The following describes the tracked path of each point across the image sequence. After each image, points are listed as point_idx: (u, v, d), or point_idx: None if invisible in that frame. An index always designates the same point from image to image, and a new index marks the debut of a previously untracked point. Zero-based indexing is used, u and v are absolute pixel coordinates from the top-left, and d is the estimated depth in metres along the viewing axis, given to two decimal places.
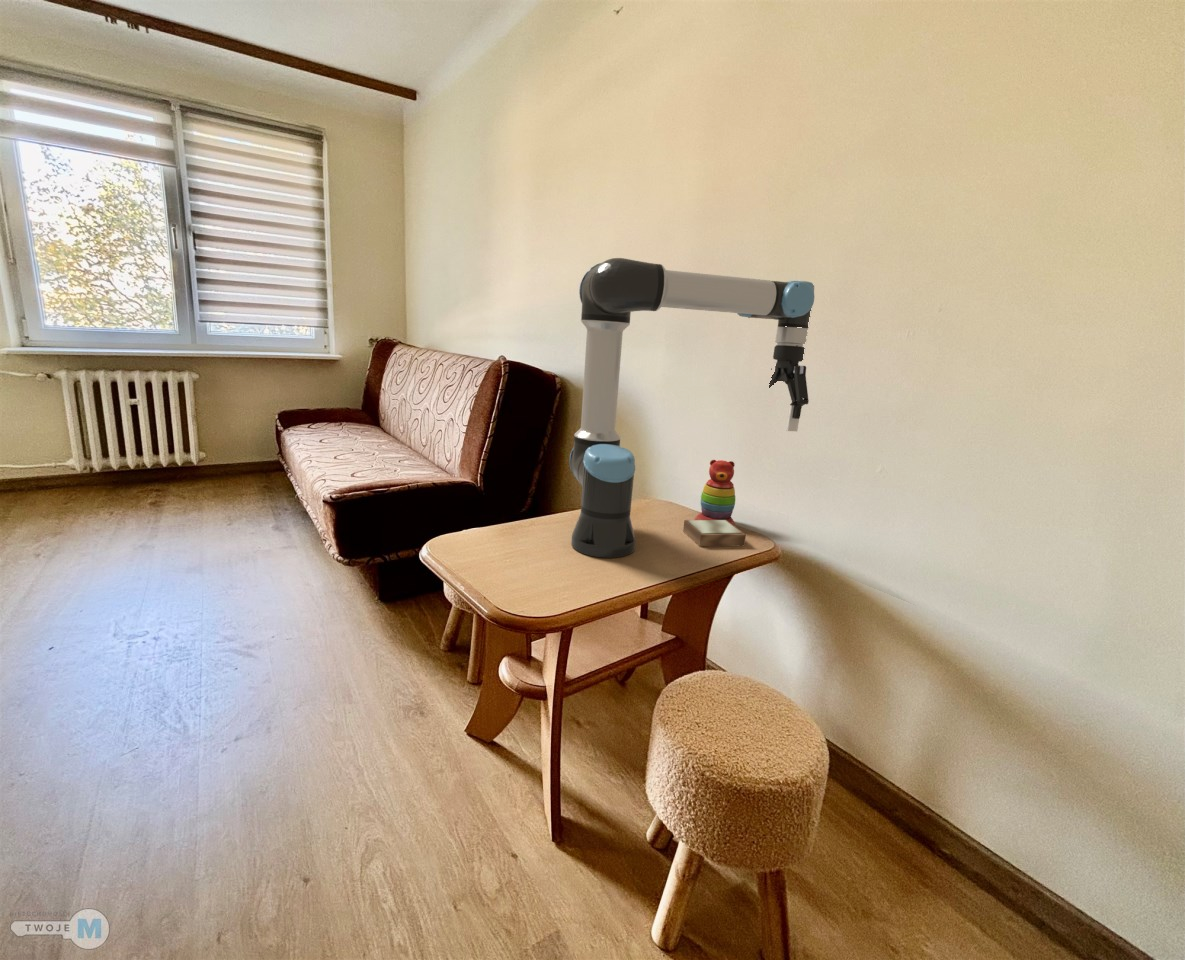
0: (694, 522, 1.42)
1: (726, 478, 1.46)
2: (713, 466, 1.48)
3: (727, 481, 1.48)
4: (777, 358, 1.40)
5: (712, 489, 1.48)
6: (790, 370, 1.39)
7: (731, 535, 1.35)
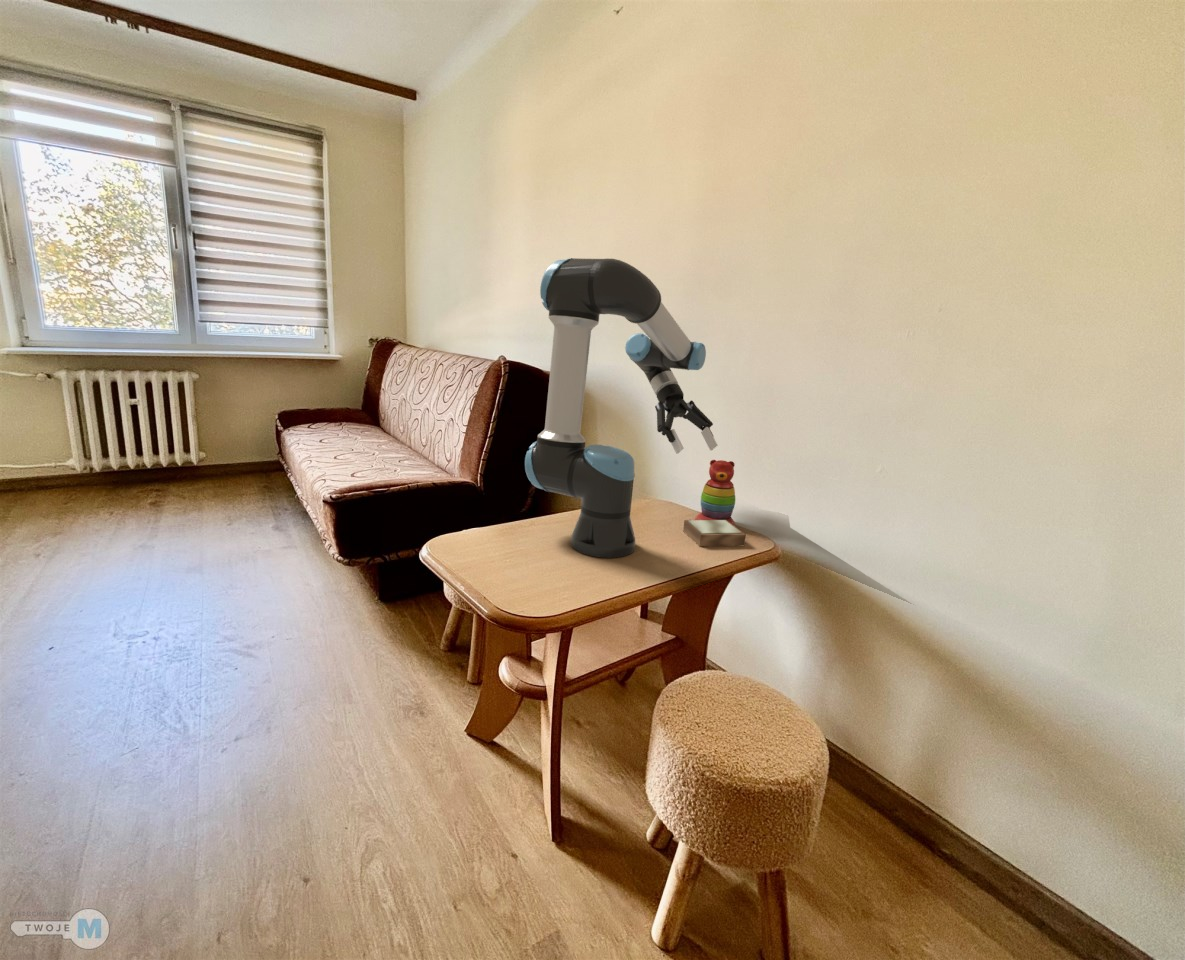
0: (694, 522, 1.42)
1: (725, 478, 1.46)
2: (713, 466, 1.48)
3: (727, 481, 1.48)
4: (680, 392, 1.61)
5: (712, 489, 1.48)
6: (686, 404, 1.63)
7: (731, 535, 1.35)
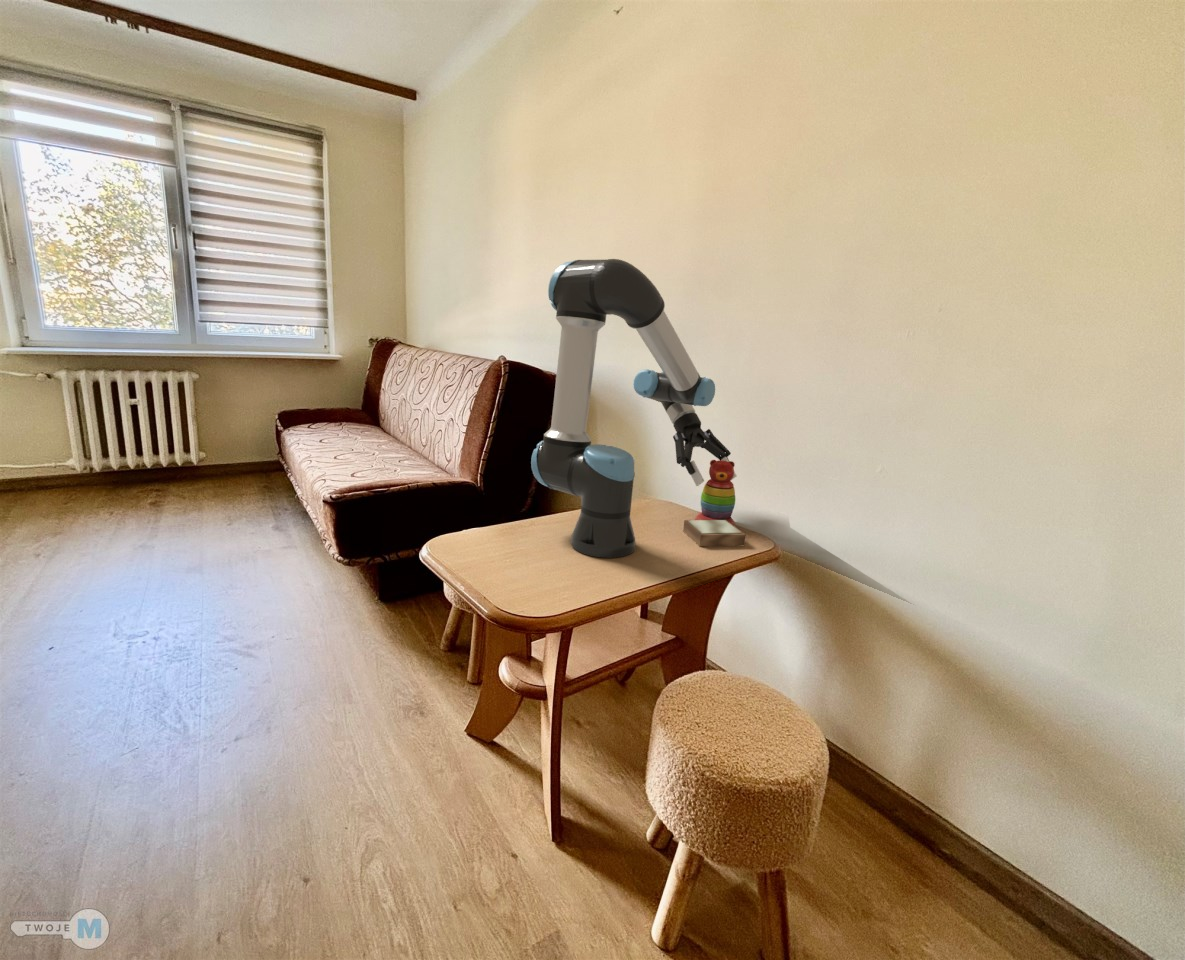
0: (694, 522, 1.42)
1: (726, 478, 1.46)
2: (713, 466, 1.48)
3: (727, 481, 1.48)
4: (698, 421, 1.57)
5: (712, 489, 1.48)
6: (704, 433, 1.59)
7: (731, 535, 1.35)
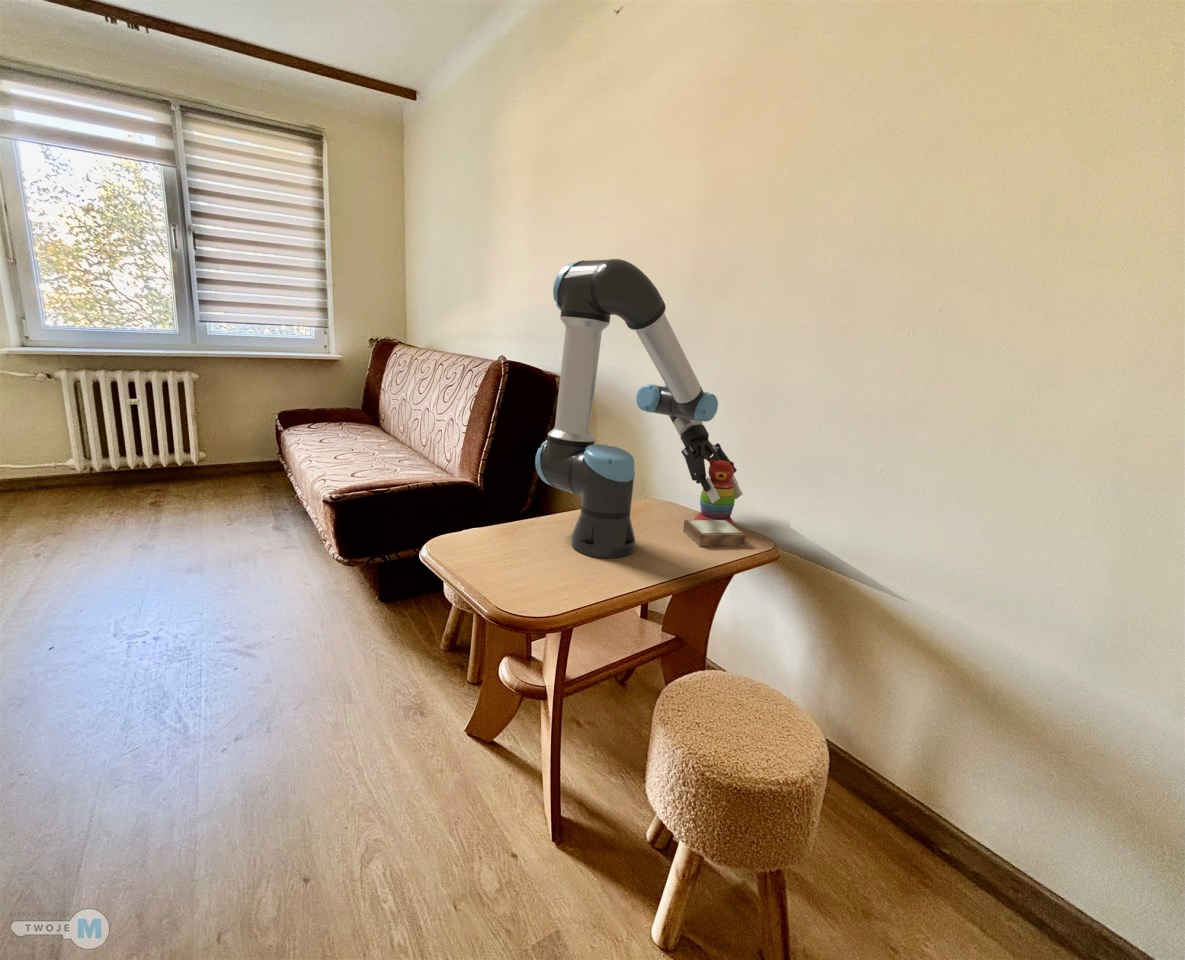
0: (694, 522, 1.42)
1: (725, 478, 1.46)
2: (712, 466, 1.48)
3: (726, 481, 1.47)
4: (706, 433, 1.54)
5: None
6: (712, 445, 1.56)
7: (731, 535, 1.35)
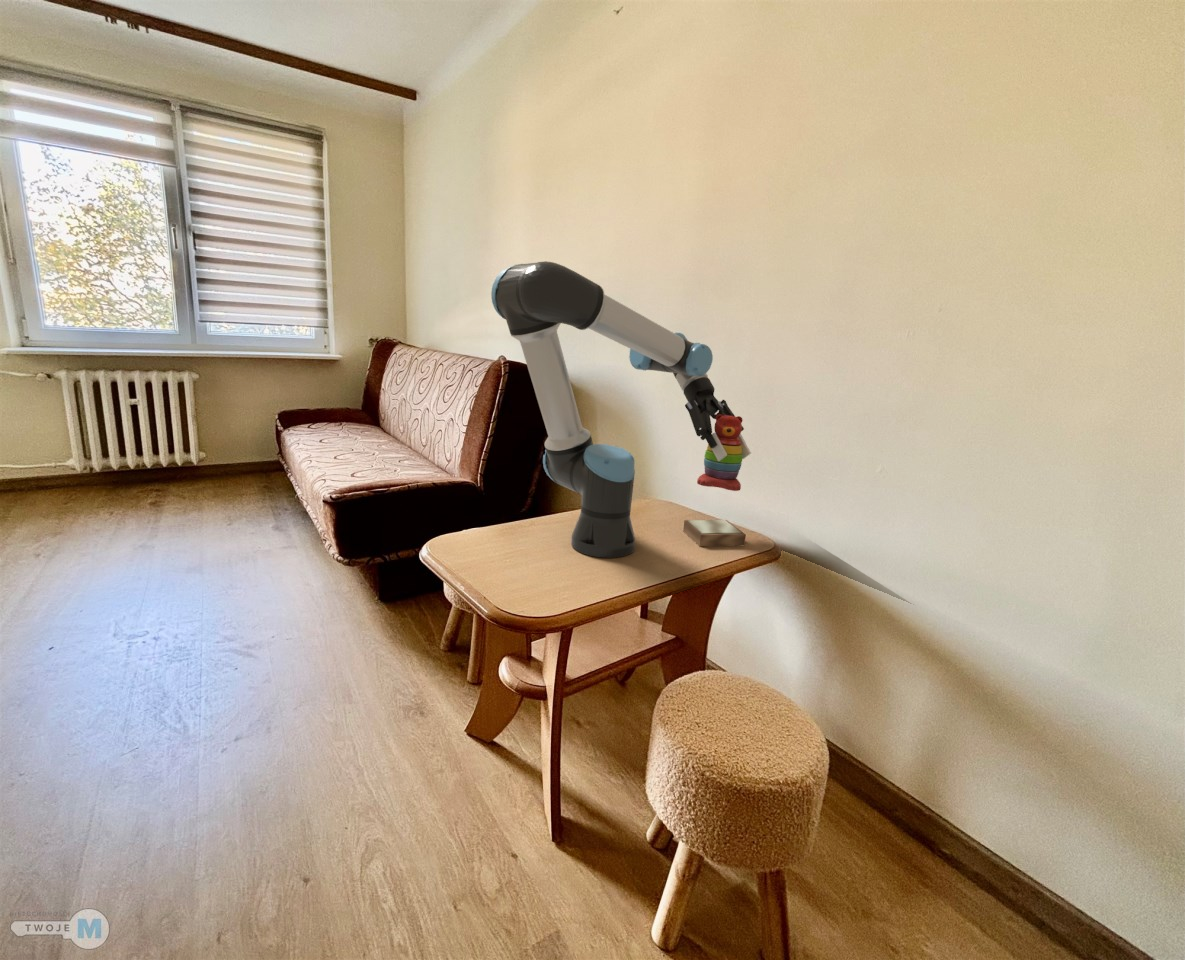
0: (694, 522, 1.42)
1: (733, 433, 1.33)
2: (719, 421, 1.35)
3: (734, 437, 1.35)
4: (712, 387, 1.41)
5: None
6: (717, 401, 1.43)
7: (731, 535, 1.35)
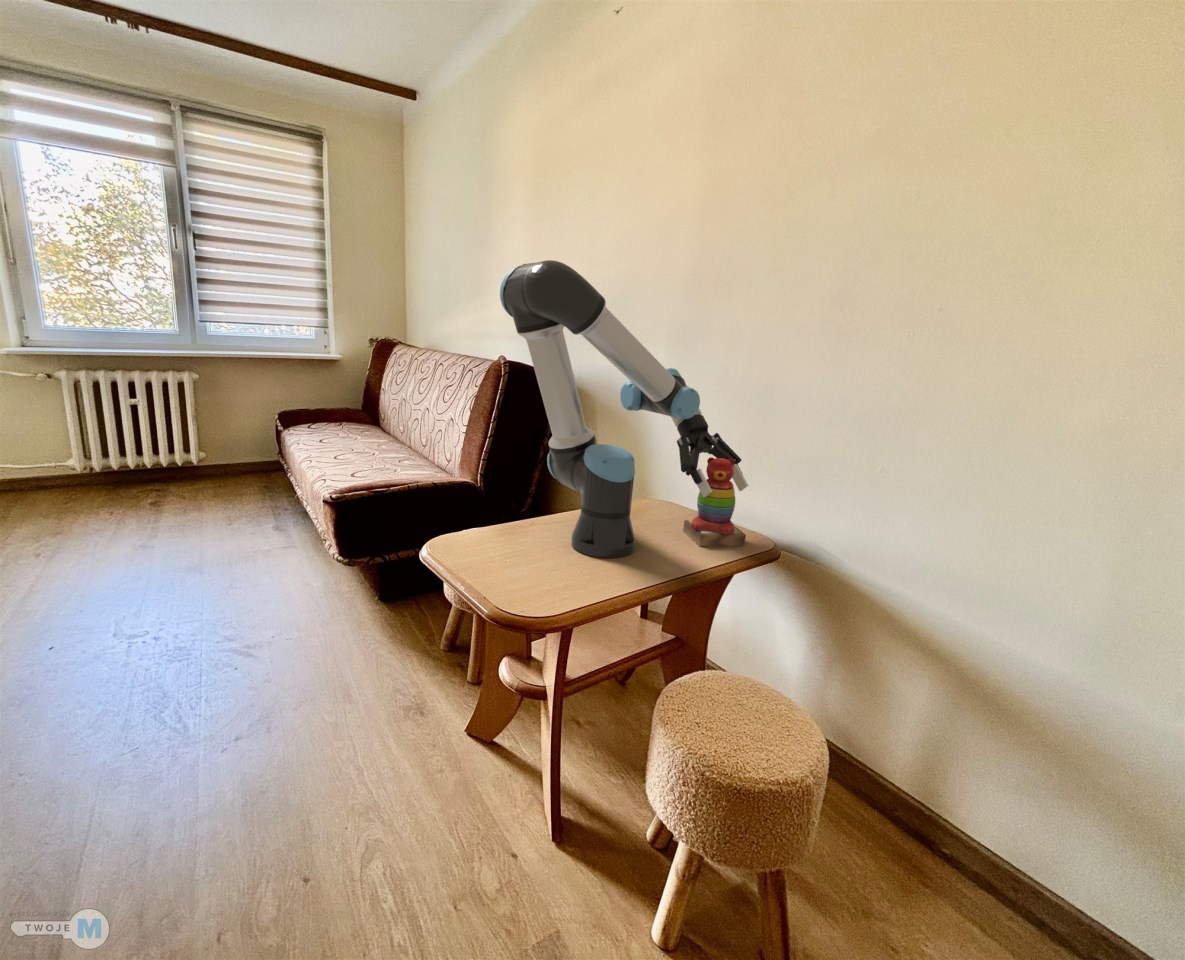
0: None
1: (724, 477, 1.32)
2: (711, 464, 1.34)
3: (726, 481, 1.34)
4: (705, 424, 1.40)
5: None
6: (711, 438, 1.42)
7: (731, 535, 1.35)
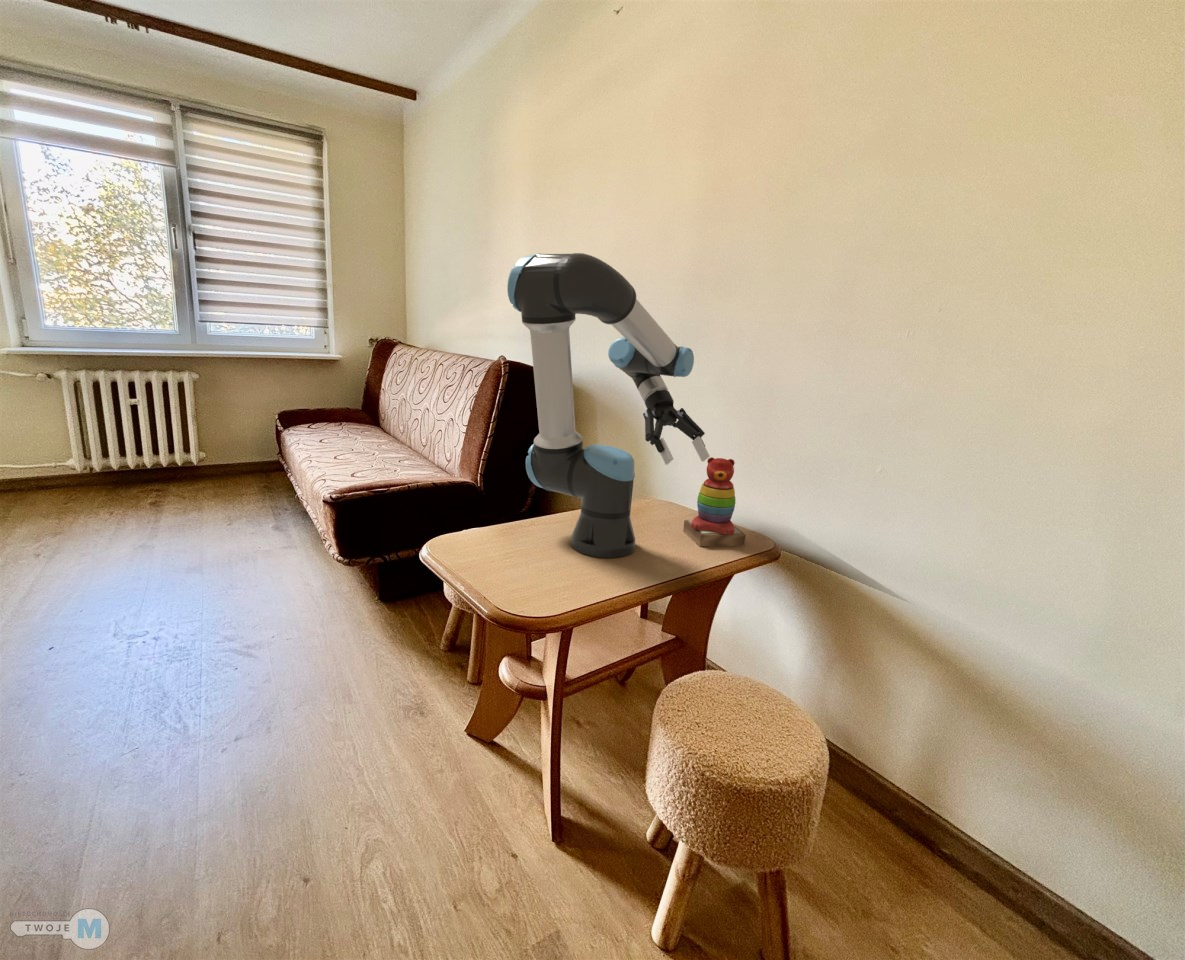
0: None
1: (725, 477, 1.32)
2: (711, 464, 1.34)
3: (726, 481, 1.34)
4: (670, 399, 1.50)
5: (710, 490, 1.34)
6: (676, 412, 1.52)
7: (731, 535, 1.35)
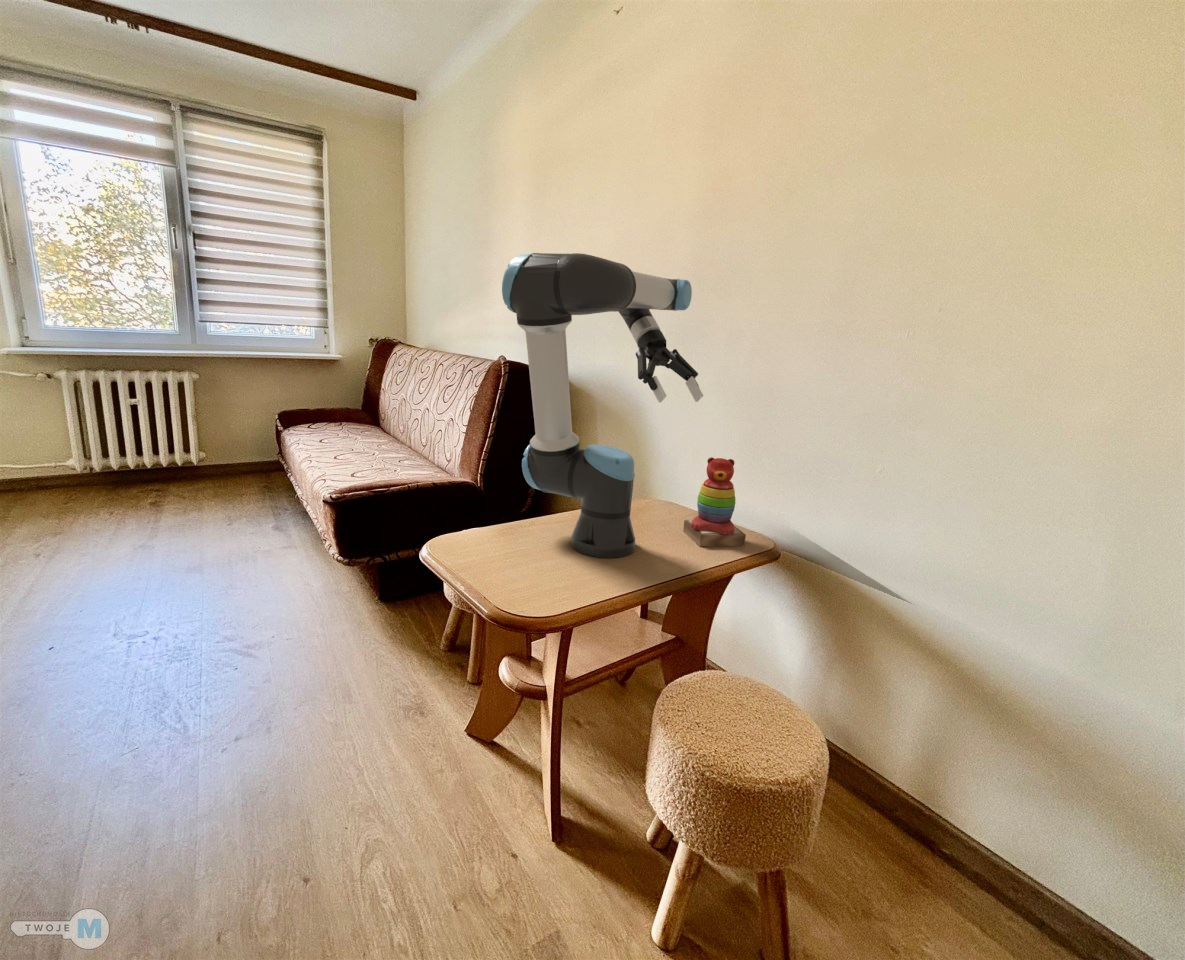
0: None
1: (725, 477, 1.32)
2: (711, 464, 1.34)
3: (726, 481, 1.34)
4: (663, 338, 1.48)
5: (710, 490, 1.34)
6: (669, 352, 1.50)
7: (731, 535, 1.35)
